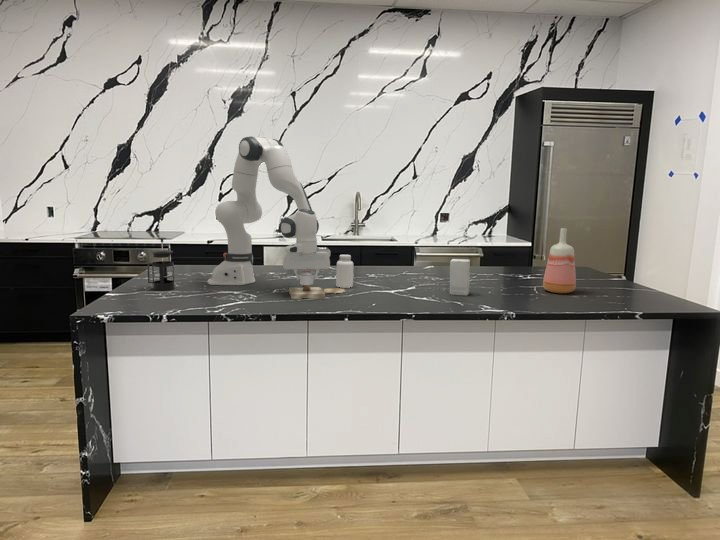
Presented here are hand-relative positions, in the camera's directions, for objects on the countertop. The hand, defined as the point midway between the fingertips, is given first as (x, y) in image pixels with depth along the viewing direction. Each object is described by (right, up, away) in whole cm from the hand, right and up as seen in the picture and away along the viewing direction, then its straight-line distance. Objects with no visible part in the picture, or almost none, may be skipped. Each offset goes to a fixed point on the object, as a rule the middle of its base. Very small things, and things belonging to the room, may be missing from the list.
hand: (306, 279), depth 237 cm
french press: (-65, -5, +8) cm, 66 cm away
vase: (+116, -6, +19) cm, 117 cm away
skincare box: (+68, -7, +10) cm, 69 cm away
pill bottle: (+16, -4, +22) cm, 27 cm away
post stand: (0, -7, +1) cm, 7 cm away
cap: (0, -2, 0) cm, 2 cm away
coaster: (+11, -6, +10) cm, 16 cm away
